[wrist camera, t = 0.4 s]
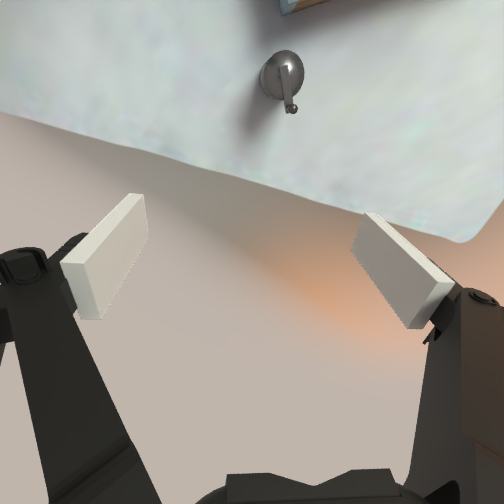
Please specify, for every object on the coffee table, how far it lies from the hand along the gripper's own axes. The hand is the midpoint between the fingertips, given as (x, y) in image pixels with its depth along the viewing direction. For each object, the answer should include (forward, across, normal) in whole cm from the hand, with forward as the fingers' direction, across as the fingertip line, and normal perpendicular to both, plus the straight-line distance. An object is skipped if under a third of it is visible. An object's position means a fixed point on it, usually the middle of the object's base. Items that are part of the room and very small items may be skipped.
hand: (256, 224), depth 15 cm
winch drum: (+30, +4, +9) cm, 31 cm away
